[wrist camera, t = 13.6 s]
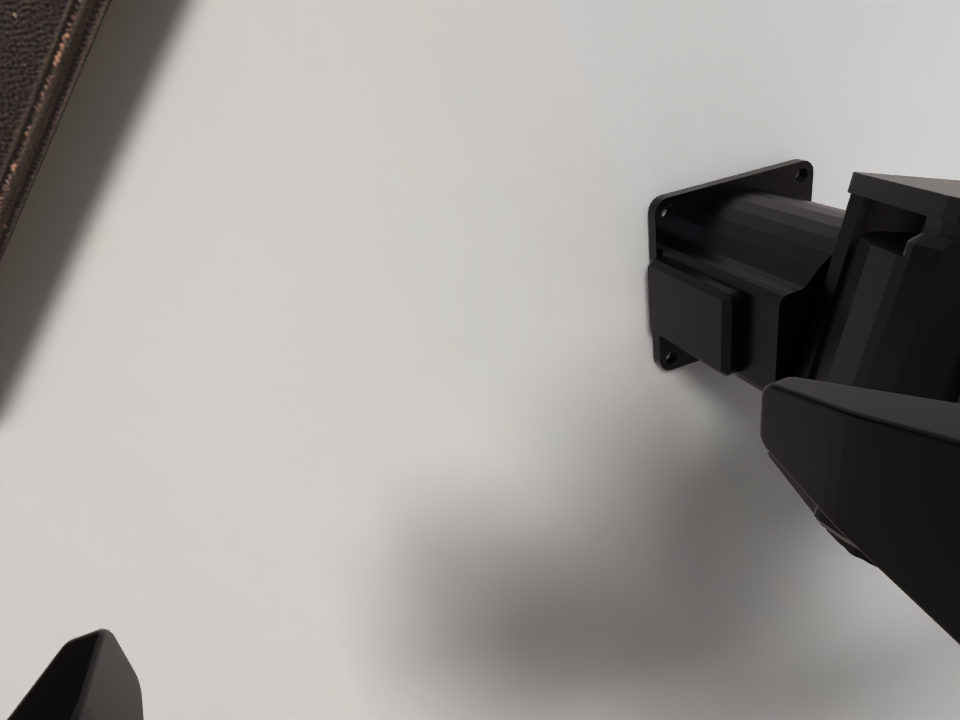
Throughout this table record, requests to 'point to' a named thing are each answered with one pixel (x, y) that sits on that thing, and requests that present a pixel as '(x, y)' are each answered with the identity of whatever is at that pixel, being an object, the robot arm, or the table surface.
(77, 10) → the hardcover book
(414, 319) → the table surface
